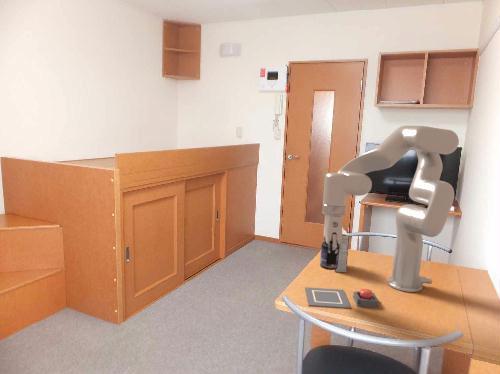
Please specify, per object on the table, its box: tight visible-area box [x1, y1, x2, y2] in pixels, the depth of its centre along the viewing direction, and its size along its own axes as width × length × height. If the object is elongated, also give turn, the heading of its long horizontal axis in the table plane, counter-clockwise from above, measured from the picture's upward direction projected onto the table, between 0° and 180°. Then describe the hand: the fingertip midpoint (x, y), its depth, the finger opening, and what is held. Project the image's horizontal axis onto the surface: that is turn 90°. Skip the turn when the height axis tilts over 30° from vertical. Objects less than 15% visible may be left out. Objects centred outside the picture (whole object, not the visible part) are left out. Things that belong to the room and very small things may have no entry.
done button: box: [360, 288, 373, 299], centre depth 130 cm, size 4×4×2 cm
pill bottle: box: [319, 235, 340, 271], centre depth 130 cm, size 6×6×11 cm
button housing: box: [352, 290, 380, 308], centre depth 131 cm, size 7×7×2 cm
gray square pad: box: [304, 286, 352, 310], centre depth 133 cm, size 14×14×1 cm
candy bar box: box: [334, 227, 350, 273], centre depth 161 cm, size 11×5×16 cm, turn 179°
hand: (329, 259), depth 131 cm, fingers closed on pill bottle, 6 cm apart
